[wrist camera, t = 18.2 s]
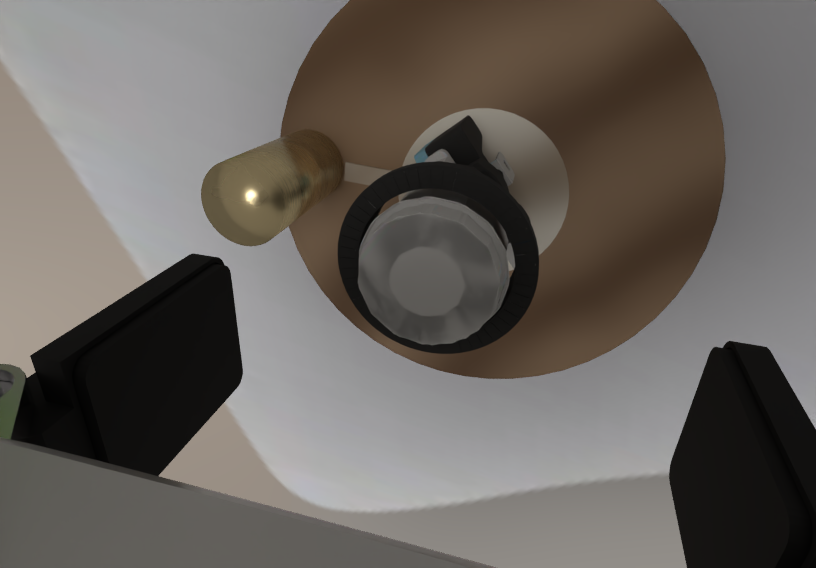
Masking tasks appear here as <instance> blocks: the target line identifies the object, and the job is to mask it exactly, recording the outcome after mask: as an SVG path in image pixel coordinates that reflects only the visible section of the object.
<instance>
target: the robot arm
mask: <svg viewBox="0 0 816 568" xmlns="http://www.w3.org/2000/svg"><path fill="white" fill-rule="evenodd" d="M30 357H31V359H32V362H33V365H34V368H35V371H36V373H34V374H33V375H31V376H30V377H28V378H26V375H25V373H24V372H23V371H22V370H21V369H20V368H18V367H16V366H13V365H8V364H0V568H496V567H493V566H489V565H485V564H482V563H478V562H474V561H471V560H467V559H463V558H460V557H456V556H452V555H449V554H445V553H442V552H438V551H434V550H431V549H427V548H423V547H420V546H416V545H412V544H409V543H405V542H401V541H398V540H394V539H390V538H387V537H383V536H379V535H375V534H372V533H368V532H365V531H361V530H357V529H353V528H350V527H346V526H342V525H339V524H335V523H331V522H328V521H324V520H320V519H317V518H313V517H309V516H305V515H302V514H298V513H294V512H291V511H286V510H283V509H279V508H276V507H272V506H268V505H264V504H260V503H257V502H253V501H250V500H246V499H242V498H238V497H235V496H231V495H227V494H223V493H220V492H216V491H212V490H208V489H204V488H200V487H197V486H193V485H189V484H185V483H182V482H178V481H173V480H170V479H166V478H162V477H159V476H158V475H159V474H160V473H161V472H162V471H163V470H164V469H165V468H166V466H167V465H168V464H169V463H170V462H171V461H172V460H173V459H174V458H175V456H176V455H177V454H178V453H179V452H180V451H181V450H182V449H183V448H184V446H185V445H186V444H187V443H188V442H189V441H190V440H191V438H192V437H193V436H194V435H195V434H196V433H197V432H198V431H199V430H200V429H201V427H202V426H203V425H204V424H205V423H206V422H207V421H208V420H209V418H210V417H211V416H212V415H213V414H214V413H215V412H216V411H217V409H218V408H219V407H220V406H221V405H222V404H223V403H224V402H225V401H226V399H227V398H228V397H229V396H230V395H231V394H232V393H233V392H234V391H235V389H236V388H237V387H238V386H239V384H240V382H241V379H242V374H243V368H242V360H241V352H240V344H239V336H238V328H237V320H236V312H235V304H234V296H233V288H232V280H231V273H230V270H229V268H228V267H227V266H224V263H223V261H222V260H221V259H220V258H217V257H211V256H205V255H199V254H191V255H188V256H187V257H185V258H184V259H182V260H181V261H179V262H177V263H176V264H174V265H173V266H171V267H170V268H168V269H166V270H165V271H163V272H162V273H160V274H158V275H157V276H155V277H154V278H152V279H151V280H149V281H147V282H146V283H144V284H143V285H141V286H140V287H138V288H136V289H135V290H133V291H132V292H130V293H129V294H127V295H125V296H124V297H122V298H121V299H119V300H117V301H116V302H114V303H113V304H111V305H110V306H108V307H107V308H105V309H103V310H102V311H100V312H99V313H97V314H96V315H94V316H92V317H91V318H89V319H88V320H86V321H84V322H83V323H81V324H80V325H78V326H76V327H75V328H73V329H72V330H70V331H69V332H67V333H65V334H64V335H62V336H61V337H59V338H58V339H56V340H54V341H53V342H51V343H50V344H48V345H47V346H45V347H43V348H42V349H40V350H39V351H37V352H35V353H34V354H32V355H31V356H30ZM669 479H670V485H671V491H672V496H673V500H674V505H675V510H676V515H677V520H678V525H679V530H680V535H681V540H682V544H683V549H684V555H685V560H686V564H687V568H816V429H815V428H814V426H813V424H812V422H811V421H810V419H809V417H808V416H807V414H806V412H805V410H804V409H803V407H802V405H801V403H800V402H799V400H798V398H797V396H796V395H795V393H794V391H793V390H792V388H791V386H790V384H789V383H788V381H787V379H786V377H785V376H784V374H783V372H782V371H781V369H780V367H779V365H778V364H777V362H776V360H775V358H774V357H773V355H772V353H771V351H770V350H769V349H768V348H767V347H763V346H757V345H751V344H745V343H739V342H732V341H729V342H727V343H726V344H725V345H724V347H723V348H718V347H714V348H713V349H712V350H711V352H710V354H709V357H708V360H707V363H706V365H705V368H704V371H703V374H702V377H701V379H700V382H699V385H698V388H697V391H696V393H695V396H694V399H693V402H692V405H691V407H690V410H689V413H688V416H687V419H686V421H685V424H684V427H683V430H682V433H681V435H680V438H679V441H678V444H677V447H676V449H675V452H674V455H673V458H672V461H671V465H670V473H669Z"/></svg>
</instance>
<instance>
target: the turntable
mask: <svg viewBox="0 0 816 568" xmlns="http://www.w3.org/2000/svg"><path fill="white" fill-rule="evenodd" d="M468 115H469V116H470V117H471V118H472V119H473V120H474V122H475V124H476V125H477V127H478V128H479V130H480V132H481V134H482V152H483V154H484V156H485V157H486V159H487V160H488V162H489V163H491V162H492V161H494V160H495V159H496V157H497V155H498V152H501V153H502V154H503V155H504V157H505V159H506V160H507V162H508V163H509V165H510V167H511V168H512V170H513V172H514V174H515V176H514V180H513V181H512V182H513V183H512V184H511V185H509V186H508V189H509V193H510V194H511V195H512V196H513V197H514V198H515V199H516V201H517V202H518V203H519V204H520V205H521V206H522V207H523V208H524V210H525V211H526V213H527V214H528V216H529V218H530V221H531V225H532V227H533V230H534V233H535V236H536V239H537V244H538V250H539V276H538V282H537V287H536V291H535V294H534V297H533V299H532V302H531V304H530V306H529V308H528V309H527V311H526V313H525V314H524V316H523V317H522V318H521V320H520V321H519V322H518V323H517V324H516V325H515V326H514V327H513V328H512V329H511V330H510V331H509V332H508V333H507V334H505V335H504V336H503V337H501V338H500V339H498V340H497V341H495V342H493V343H491V344H489V345H487V346H484V347H482V348H479V349H476V350H472V351H468V352H463V353H455V354H437V353H428V352H423V351H419V350H415V349H412V348H409V347H406V346H404V345H401V344H399V343H397V342H395V341H393V340H391V339H390V338H388V337H386V336H385V335H383V334H382V333H381V332H379V331H378V330H376V329H375V328H374V327H373V326H372V325H371V324H370V323H369V322H368V321H367V320H366V319H365V318H364V317H363V316H362V315H361V314H360V312H359V311H358V310H357V309H356V307H355V306H354V304H353V303H352V301H351V299H350V298H349V296H348V294H347V292H346V289H345V287H344V285H343V282H342V279H341V275H340V271H339V265H338V254H337V253H338V240H339V234H340V230H341V226H342V223H343V221H344V218H345V216H346V214H347V212H348V210H349V208H350V207H351V205H352V204H353V202H354V201H355V200H356V198H357V197H358V196H359V195H360V194H361V193H362V192H363V191H364V190H365V189H366V188H367V187H368V186H369V185H371V184H372V183H373V182H374V181H375V180H377V179H378V178H380V177H381V176H383V175H385V174H386V173H388V172H390V171H392V170H395V169H397V168H400V167H402V166H406V165H410V164H414V163H416V161H415V159H414V155H415V154H416V153H418V152H419V151H420V150H421V149H422V148H423V147H424V146H425V145H426V144H428V143H429V142H430V141H432V140H433V139H435V138H436V137H438V136H439V135H440V134H442V133H443V132H445V131H446V130H448V129H449V128H451V127H452V126H453V125H455V124H456V123H458V122H459V121H461V120H462V119H463V118H465V117H466V116H468ZM725 159H726V157H725V144H724V130H723V123H722V119H721V114H720V110H719V106H718V101H717V97H716V93H715V91H714V88H713V86H712V83H711V81H710V78H709V76H708V73H707V71H706V68H705V66H704V63H703V61H702V60H701V58H700V56H699V55H698V53H697V51H696V50H695V48H694V46H693V45H692V43H691V41H690V40H689V38H688V36H687V35H686V33H685V32H684V31H683V30H682V28H681V27H680V26H679V25H678V24H677V22H676V21H675V20H674V19H673V18H672V16H671V15H670V14H669V13H668V12H667V10H666V9H665V8H664V7H663V6H662V5H661V4H660V3H659V2H657V1H656V0H350V1H349V2H348V3H347V4H346V5H345V6H344V7H343V8H342V9H341V10H340V11H339V12H338V13H337V14H336V15H335V16H334V17H333V18H332V19H331V20H330V22H329V23H328V24H327V26H326V27H325V29H324V30H323V31H322V33H321V34H320V35H319V37H318V38H317V39H316V41H315V42H314V43H313V45H312V47H311V49H310V51H309V52H308V54H307V56H306V58H305V60H304V61H303V63H302V65H301V67H300V69H299V71H298V74H297V76H296V79H295V81H294V84H293V86H292V89H291V92H290V94H289V97H288V101H287V105H286V109H285V113H284V117H283V121H282V128H281V137H280V138H278V139H276V140H274V141H271V142H269V143H266V144H264V145H261V146H259V147H257V148H254V149H252V150H249V151H247V152H244V153H242V154H240V155H237V156H235V157H232V158H230V159H227V160H225V161H223V162H220V163H218V164H216V165H215V166H214V167H212V168H211V169H210V170H209V172H208V173H207V174H206V176H205V178H204V181H203V184H202V189H201V198H202V204H203V208H204V211H205V213H206V216H207V218H208V219H209V221H210V223H211V224H212V225H213V227H214V228H215V229H216V230H217V231H218V232H219V233H220V234H221V235H223V236H224V237H225V238H227V239H228V240H230V241H232V242H234V243H237V244H240V245H244V246H257V245H261V244H264V243H266V242H268V241H269V240H271V239H272V238H273V237H275V236H276V235H277V234H279V233H280V232H281V231H282V230H284V229H285V228H286V227H288V226H289V228H290V231H291V233H292V236H293V238H294V241H295V244H296V246H297V249H298V251H299V253H300V255H301V257H302V259H303V260H304V262H305V264H306V266H307V268H308V270H309V272H310V273H311V275H312V276H313V278H314V279H315V281H316V282H317V284H318V285H319V287H320V288H321V290H322V291H323V292H324V294H325V295H326V296H327V297H328V298H329V299H330V301H331V302H332V303H333V304H334V305H335V306H336V308H337V309H338V310H339V311H340V312H341V313H342V314H343V315H344V316H345V317H347V318H348V319H349V320H350V321H351V322H352V323H353V324H354V325H355V326H356V327H357V328H359V329H360V330H361V331H363V332H364V333H365V334H367V335H368V336H369V337H371V338H372V339H373V340H375V341H376V342H378V343H380V344H381V345H383V346H385V347H386V348H388V349H390V350H391V351H393V352H395V353H397V354H399V355H401V356H403V357H405V358H408V359H410V360H412V361H414V362H416V363H419V364H422V365H425V366H428V367H431V368H434V369H437V370H440V371H444V372H448V373H453V374H458V375H462V376H470V377H479V378H488V379H513V378H523V377H532V376H539V375H544V374H548V373H553V372H557V371H562V370H565V369H568V368H571V367H574V366H577V365H579V364H582V363H585V362H588V361H590V360H592V359H594V358H596V357H598V356H600V355H602V354H605V353H607V352H609V351H611V350H612V349H614V348H616V347H617V346H619V345H620V344H622V343H623V342H625V341H627V340H628V339H630V338H631V337H633V336H634V335H636V334H637V333H638V332H639V331H640V330H642V329H643V328H644V327H645V326H646V325H648V324H649V323H650V322H651V321H653V320H654V319H655V318H656V317H657V316H658V315H659V314H660V313H661V312H662V311H663V310H664V309H665V307H666V306H667V305H668V304H669V303H670V302H671V301H672V300H673V299H674V298H675V297H676V295H677V294H678V293H679V291H680V290H681V288H682V287H683V286H684V284H685V283H686V282H687V280H688V279H689V277H690V276H691V275H692V273H693V271H694V269H695V267H696V266H697V264H698V262H699V260H700V258H701V256H702V255H703V253H704V251H705V249H706V247H707V244H708V241H709V239H710V236H711V233H712V231H713V228H714V225H715V223H716V220H717V216H718V211H719V207H720V202H721V198H722V193H723V186H724V173H725ZM506 167H507V166H506ZM507 169H508V168H507ZM406 193H407V192H406ZM406 193H403V194H400V195H398V196H396V197H394V198H392V199H390V200H389V201H387V202H386V203H385V204H384V205H383V207H382V208H381V211H380V213H379V215H380V214H382V213H383V212H384V211H386V210H387V209H388V208H390V207H391V206H392V205H394V204H396V203H398V202H400V201H401V199H402V198H403V197H404V196H405V195H406ZM379 215H378V216H379ZM508 266H509V277H511V275H512V273H513V271H514V269H513V267H512V266H511V264H510V263H509V261H508Z"/></svg>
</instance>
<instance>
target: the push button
mask: <svg viewBox="0 0 816 568" xmlns="http://www.w3.org/2000/svg"><path fill="white" fill-rule="evenodd" d="M414 159H415V161H416V163H414V164H410V165H406V166H402V167H400V168H397V169H395V170H392V171H390V172H388V173H386V174H385V175H383V176H381V177H380V178H378V179H377V180H375V181H374V182H373V183H372V184H371V185H369V186H368V187H367V188H366V189H365V190H364V191H363V192H362V193H361V194H360V195H359V196H358V197H357V198H356V200H355V201H354V202H353V204H352V205H351V207H350V208H349V210H348V212H347V214H346V216H345V218H344V221H343V223H342V226H341V230H340V234H339V240H338V253H337V254H338V265H339V271H340V275H341V279H342V282H343V285H344V287H345V289H346V292H347V294H348V296H349V298H350V299H351V301H352V303H353V304H354V306H355V307H356V309H357V310H358V311H359V312H360V314H361V315H362V316H363V317H364V318H365V319H366V320H367V321H368V322H369V323H370V324H371V325H372V326H373V327H374V328H375V329H376V330H378V331H379V332H381V333H382V334H383V335H385V336H386V337H388V338H390V339H391V340H393V341H395V342H397V343H399V344H401V345H404V346H406V347H409V348H412V349H415V350H419V351H423V352H428V353H437V354H455V353H463V352H468V351H472V350H476V349H479V348H482V347H484V346H487V345H489V344H491V343H493V342H495V341H497V340H498V339H500V338H501V337H503V336H504V335H505V334H507V333H508V332H509V331H510V330H511V329H512V328H513V327H514V326H515V325H516V324H517V323H518V322H519V321H520V320H521V318H522V317H523V316H524V314H525V313H526V311H527V309H528V308H529V306H530V304H531V302H532V299H533V297H534V294H535V291H536V287H537V282H538V276H539V250H538V244H537V239H536V236H535V233H534V230H533V227H532V225H531V221H530V218H529V216H528V214H527V213H526V211H525V210H524V208H523V207H522V206H521V205H520V204H519V203H518V202H517V201H516V199H515V198H514V197H513V196H512V195H511V194H510V193H509V189H508V186H509V185H511V184H512V183H513V182H512V181H513V180H514V176H515V174H514V172H513V170H512V168H511V167H510V165H509V163H508V162H507V160H506V159H505V157H504V155H503V154H502V153H501V152H498V155H497V157H496V159H495V160H494V161H492V162H491V163H489V162H488V160H487V159H486V157H485V156H484V154H483V152H482V134H481V132H480V130H479V128H478V127H477V125H476V124H475V122H474V120H473V119H472V118H471V117H470V116H469V115H468V116H466V117H465V118H463V119H462V120H461V121H459V122H458V123H456V124H455V125H453V126H452V127H451V128H449V129H448V130H446V131H445V132H443V133H442V134H440V135H439V136H438V137H436V138H435V139H433V140H432V141H430V142H429V143H428V144H426V145H425V146H424V147H423V148H422V149H421V150H420V151H419V152H418V153H416V154H415V155H414ZM506 166H507V167H506ZM507 168H508V169H507ZM406 192H407V193H406ZM403 193H406V195H405V196H404V197H403V198H402V199H401V201H400V202H398V203H396V204H394V205H392V206H391V207H390V208H388V209H387V210H386V211H384V212H383V213H382V214H380V215H379V213H380V211H381V208H382V207H383V205H384V204H385V203H386V202H387V201H389V200H390V199H392V198H394V197H396V196H398V195H400V194H403ZM378 215H379V216H378ZM508 261H509V263H510V264H511V266H512V267H513V269H514V271H513V273H512V275H511V277H509V266H508Z"/></svg>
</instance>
